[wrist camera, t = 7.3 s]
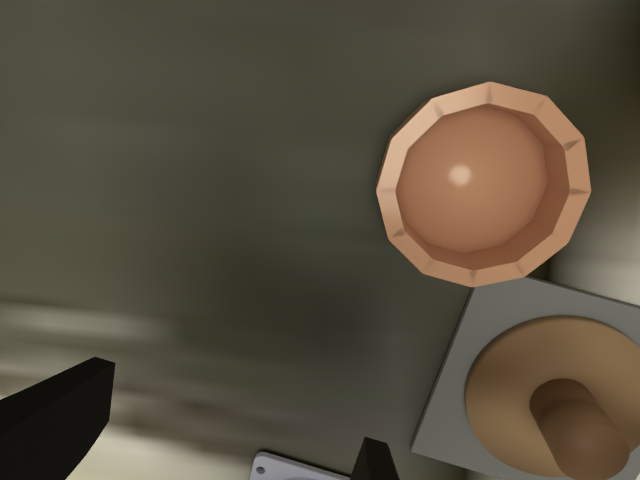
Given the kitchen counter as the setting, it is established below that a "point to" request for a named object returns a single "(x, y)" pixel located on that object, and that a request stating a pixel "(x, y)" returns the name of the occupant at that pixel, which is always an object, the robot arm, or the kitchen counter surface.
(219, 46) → the kitchen counter surface
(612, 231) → the kitchen counter surface
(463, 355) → the mat
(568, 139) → the bowl
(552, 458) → the lid
